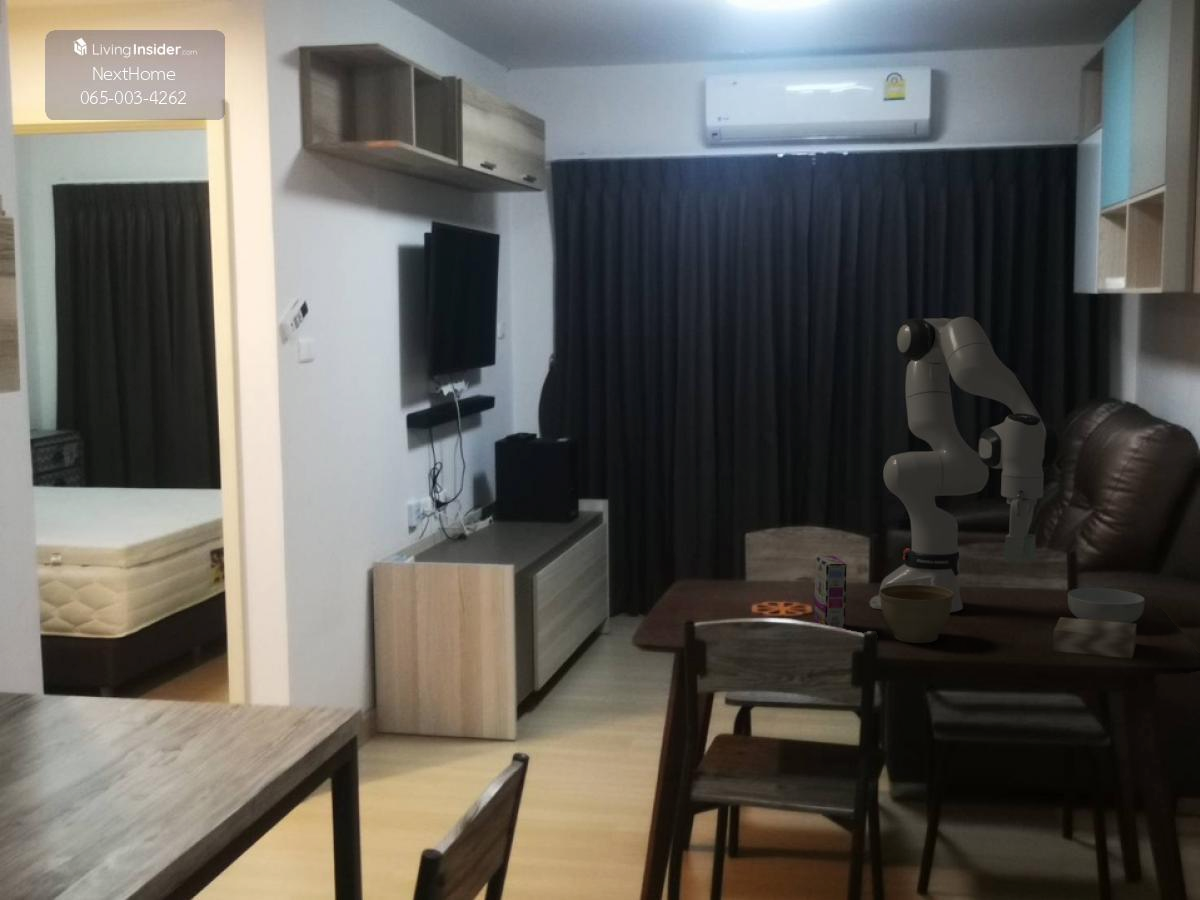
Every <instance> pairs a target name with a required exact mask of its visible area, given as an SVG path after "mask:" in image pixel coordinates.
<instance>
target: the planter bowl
mask: <svg viewBox="0 0 1200 900" xmlns="http://www.w3.org/2000/svg"><path fill="white" fill-rule="evenodd" d="M879 591H880V597H881V607H882V609H881V612H882V615H883V617H884V620H885V621H886V623H887V625H888V627H889V628H890V630H892V633H893V636H894V638H895V639H896V640H898V641H899V642H904V643H909V644H927V643H934V642H935V641H937V640H938V638H939V634H940V632H942V630H943V629H944V628H945V626H946V624H947V622H948V620H949V617H950V615H951V613H952V612H951V607H952V599H953V592H952V591H951V590H948V589H946V588H942V587H937V586H930V585H894V586H888V587H884V588H882V589H881V590H880V589H879Z"/></svg>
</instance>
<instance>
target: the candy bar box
mask: <svg viewBox="0 0 1200 900" xmlns="http://www.w3.org/2000/svg"><path fill="white" fill-rule="evenodd" d="M814 563H815V564H814V565H815V567H814V608H813V609H814V612H813V613H814V614H813V615H814V617H813V618H814V620H813V623H814V622H817V623H821V624H826V625H831V626H836V627H841V628H845V629H846V605H847V603H846V599H847V598H846V596H847V565H848V564H846V563H845V562H844V561H842V560H840V559H839V558H838V557H837V556H834V555H816V556H815V562H814Z"/></svg>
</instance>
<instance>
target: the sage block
mask: <svg viewBox="0 0 1200 900" xmlns="http://www.w3.org/2000/svg"><path fill="white" fill-rule="evenodd" d="M1036 537H1037V534H1036V533H1035V534H1034V533H1027V536H1026V537H1024V551H1023V554H1016V553H1015V544H1014V537H1012V536H1010V533H1008V534H1007V535H1005V539H1004V541H1005V544H1004V562H1009V563H1010V562H1011V563H1020V564H1021V563H1023V564H1032V563H1033V561H1035V560H1036V542H1037V541H1036Z"/></svg>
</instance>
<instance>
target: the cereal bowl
mask: <svg viewBox="0 0 1200 900" xmlns="http://www.w3.org/2000/svg"><path fill="white" fill-rule="evenodd" d="M1145 603H1146V600H1145V597H1144V596H1142V595H1141V594H1138V593H1134V592H1132V591H1127V590H1122V589H1115V588H1109V587H1108V588H1107V587H1106V588H1105V587H1081V588H1074V589H1071V590H1070V591H1068V593H1067V605H1068V606H1067V607H1068V608H1069V610H1070V612H1071V613H1072V615H1074V616H1075V617H1076V619H1087V620H1098V621H1110V622H1122V623H1134V622H1135V621H1137V620H1139V619H1140V617H1141V616H1142V614H1143V613H1144V609H1145V606H1146V605H1145Z"/></svg>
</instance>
